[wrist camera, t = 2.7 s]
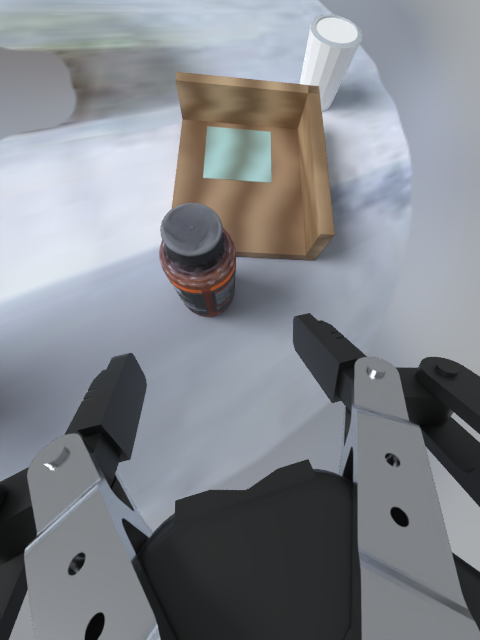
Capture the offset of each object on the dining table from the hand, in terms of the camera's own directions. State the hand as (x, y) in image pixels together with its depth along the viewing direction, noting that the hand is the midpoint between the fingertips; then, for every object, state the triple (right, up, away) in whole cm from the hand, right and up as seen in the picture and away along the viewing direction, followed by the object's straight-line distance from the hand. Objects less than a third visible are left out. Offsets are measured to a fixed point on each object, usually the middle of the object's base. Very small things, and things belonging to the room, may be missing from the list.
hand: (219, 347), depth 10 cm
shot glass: (+13, +37, +23) cm, 45 cm away
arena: (+2, +20, +18) cm, 27 cm away
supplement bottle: (-3, +4, +14) cm, 15 cm away
